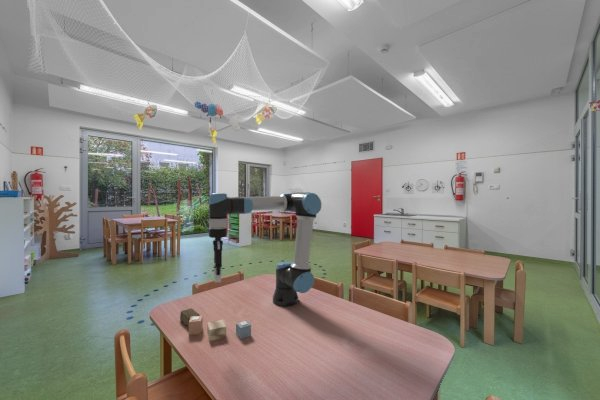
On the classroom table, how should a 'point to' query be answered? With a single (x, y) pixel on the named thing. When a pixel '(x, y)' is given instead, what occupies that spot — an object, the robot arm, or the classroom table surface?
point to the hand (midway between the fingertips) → (217, 279)
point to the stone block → (187, 315)
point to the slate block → (243, 329)
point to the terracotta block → (195, 325)
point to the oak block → (216, 330)
